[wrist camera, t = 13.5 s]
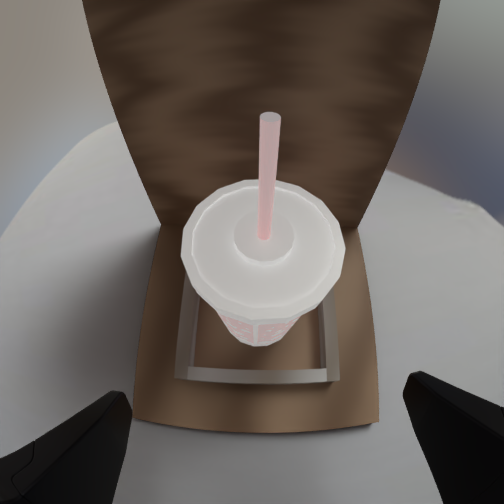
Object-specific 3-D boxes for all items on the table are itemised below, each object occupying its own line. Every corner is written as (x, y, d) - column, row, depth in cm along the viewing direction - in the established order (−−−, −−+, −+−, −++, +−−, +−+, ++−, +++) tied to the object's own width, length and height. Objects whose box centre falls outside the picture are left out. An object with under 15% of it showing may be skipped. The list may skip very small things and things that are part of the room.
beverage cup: (307, 276, 19) (373, 87, 7) (300, 363, 16) (431, 250, 4) (221, 265, 19) (186, 70, 7) (204, 350, 16) (85, 209, 4)
